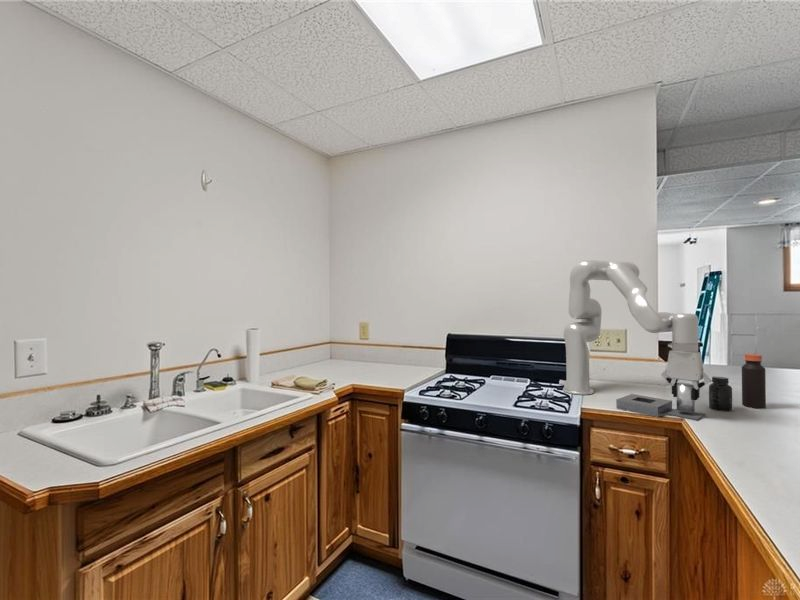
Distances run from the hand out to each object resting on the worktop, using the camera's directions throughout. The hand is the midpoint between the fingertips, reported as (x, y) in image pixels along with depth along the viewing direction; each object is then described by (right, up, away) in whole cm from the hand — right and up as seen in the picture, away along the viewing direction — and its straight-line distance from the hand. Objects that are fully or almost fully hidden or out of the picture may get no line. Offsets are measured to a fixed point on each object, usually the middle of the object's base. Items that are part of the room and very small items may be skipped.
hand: (685, 397), depth 139 cm
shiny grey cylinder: (0, -4, 0) cm, 4 cm away
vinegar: (+34, -6, +10) cm, 36 cm away
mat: (0, -6, 0) cm, 6 cm away
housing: (-10, -6, +8) cm, 14 cm away
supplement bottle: (+19, -6, +7) cm, 21 cm away
